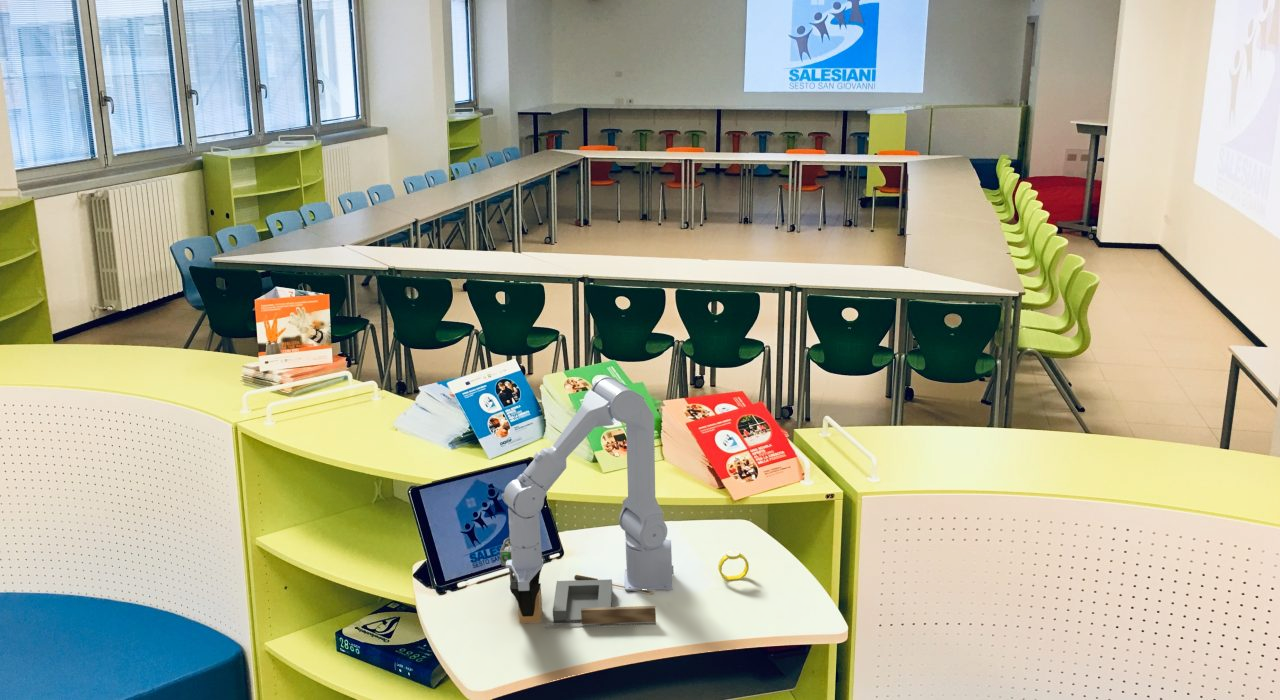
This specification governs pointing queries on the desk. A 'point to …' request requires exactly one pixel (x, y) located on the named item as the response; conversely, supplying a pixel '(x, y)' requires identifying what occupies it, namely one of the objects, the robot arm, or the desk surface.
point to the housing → (582, 602)
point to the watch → (733, 555)
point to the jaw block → (537, 611)
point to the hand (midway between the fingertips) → (529, 604)
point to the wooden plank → (618, 615)
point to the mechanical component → (507, 557)
